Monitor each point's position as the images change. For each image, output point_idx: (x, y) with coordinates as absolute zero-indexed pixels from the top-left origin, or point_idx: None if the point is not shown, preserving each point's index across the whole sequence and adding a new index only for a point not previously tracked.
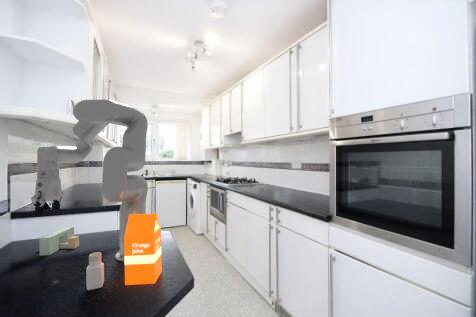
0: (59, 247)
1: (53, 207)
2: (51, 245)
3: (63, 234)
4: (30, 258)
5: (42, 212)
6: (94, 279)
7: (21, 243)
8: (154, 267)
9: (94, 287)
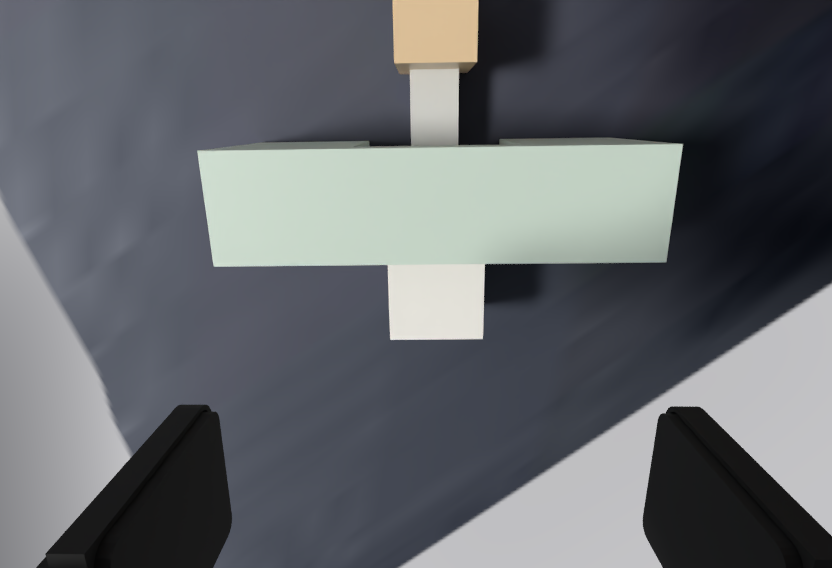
0: None
1: (193, 565)
2: (619, 140)
3: (425, 146)
4: None
5: (738, 461)
6: None
7: (271, 556)
8: None
9: None
